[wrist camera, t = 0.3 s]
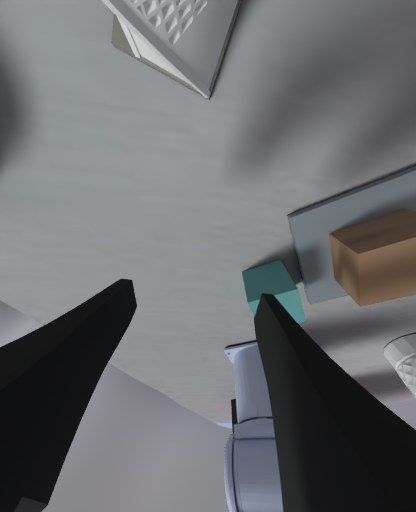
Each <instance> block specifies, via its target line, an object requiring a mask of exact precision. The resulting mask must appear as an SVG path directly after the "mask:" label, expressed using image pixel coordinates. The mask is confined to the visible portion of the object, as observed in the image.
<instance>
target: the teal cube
mask: <svg viewBox="0 0 416 512" xmlns="http://www.w3.org/2000/svg"><path fill="white" fill-rule="evenodd" d="M242 275H243V280H244V285H245V291H246V296H247V301H248V304H249V306H250V308H251V310H252V313H253V315H254V317H255V313H256V310H257V307H258V304H259V301H260V297H261V294H262V293H266V294H273V295H274V296H275V297H276V298H277V299H278V301H279V302H280V303H281V304H282V305H283V307H284V308H285V309H286V310H287V311H288V313H289V314H290V315H291V316H292V317H293V319H294V320H295V321H296V322H297V323H301V322H306V319H305V315H304V311H303V307H302V304H301V300H300V296H299V292H298V289H297V287H296V285H295V284H294V282H293V280H292V279H291V277H290V275H289V274H288V272H287V270H286V268H285V267H284V265H283V263H282V262H281V260H277V261H274V262H271V263H268V264H265V265H262V266H259V267H256V268H252V269H249V270H246V271H243V272H242Z"/></svg>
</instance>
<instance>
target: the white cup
mask: <svg viewBox="0 0 416 512" xmlns="http://www.w3.org/2000/svg"><path fill="white" fill-rule="evenodd" d="M383 354H384V356H385V357H386V358H387V359H388V361H389V362H390V363H391V365H392V366H393V367H394V368H395V370H396V371H397V372H398V375H399V377H400V378H401V379H402V380H403V382H404V383H405V385H406V386H407V388H408V389H409V390H410V391H411V392H412V394H413V395H414V397H415V398H416V334H412V335H407V336H403V337H400V338H398V339H396V340H394V341H392V342H391V343H389V344H388V345H387V346H386V347H385V349H384V353H383Z"/></svg>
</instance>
